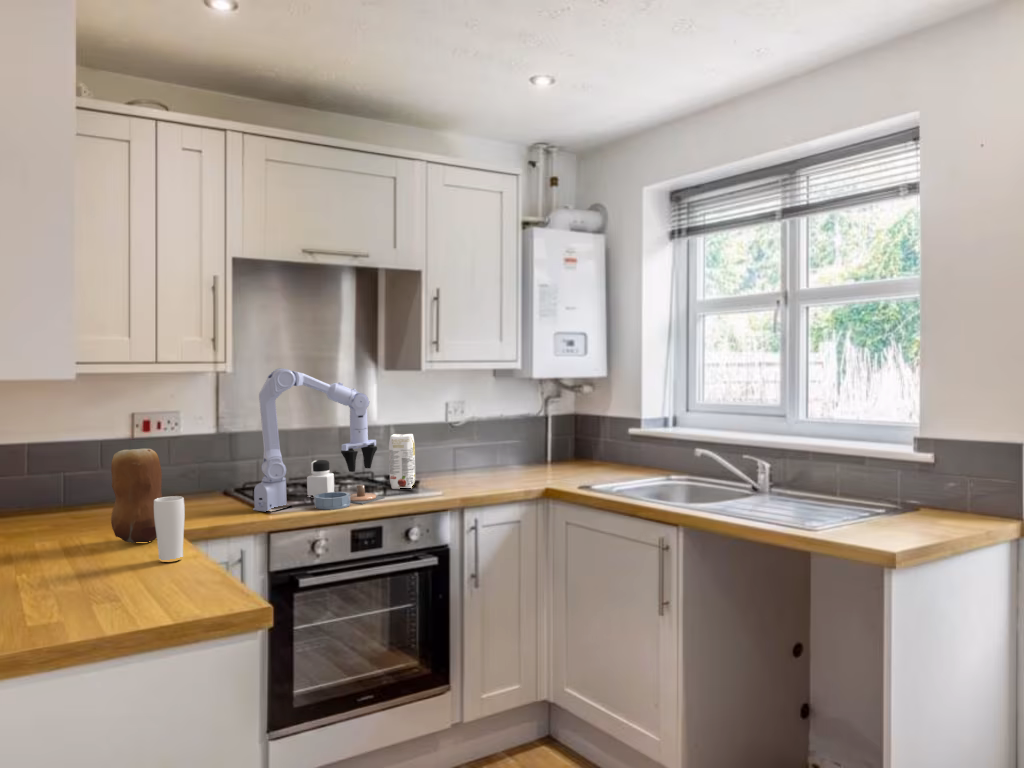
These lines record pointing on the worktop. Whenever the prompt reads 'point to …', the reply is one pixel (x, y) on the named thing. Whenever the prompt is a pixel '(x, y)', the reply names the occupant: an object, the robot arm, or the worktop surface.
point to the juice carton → (402, 461)
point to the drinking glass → (169, 526)
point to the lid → (362, 494)
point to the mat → (367, 501)
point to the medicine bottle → (320, 478)
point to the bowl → (332, 500)
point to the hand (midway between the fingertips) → (359, 469)
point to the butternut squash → (135, 494)
